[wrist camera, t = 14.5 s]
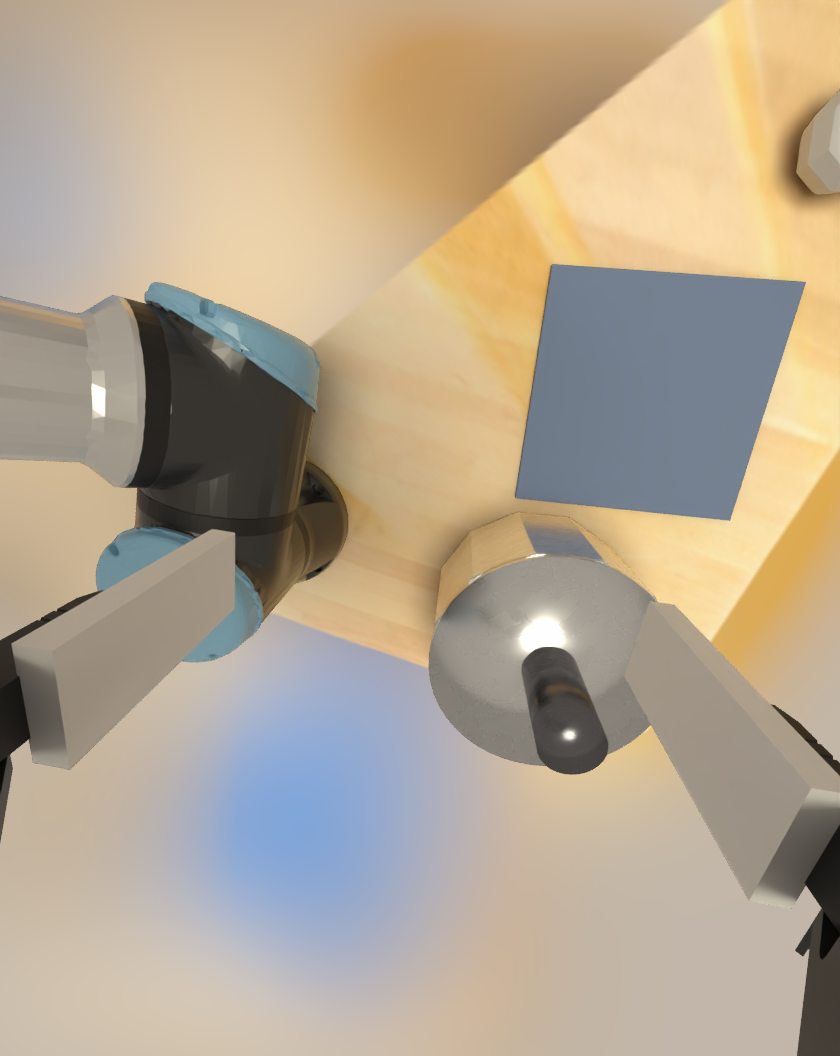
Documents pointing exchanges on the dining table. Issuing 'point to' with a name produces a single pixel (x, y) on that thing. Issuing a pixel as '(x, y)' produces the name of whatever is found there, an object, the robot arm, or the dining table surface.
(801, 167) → the grey faceted round piece
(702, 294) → the mat
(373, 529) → the dining table surface
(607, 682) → the cake dome
